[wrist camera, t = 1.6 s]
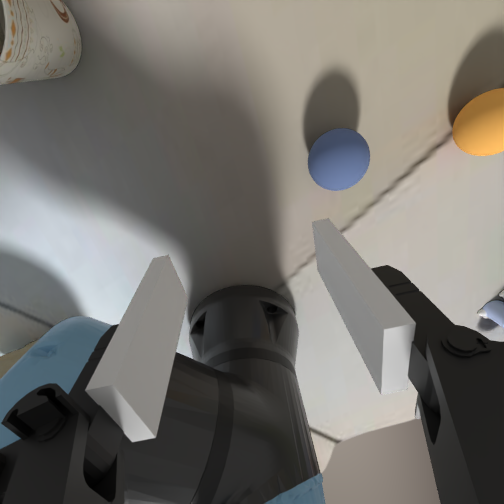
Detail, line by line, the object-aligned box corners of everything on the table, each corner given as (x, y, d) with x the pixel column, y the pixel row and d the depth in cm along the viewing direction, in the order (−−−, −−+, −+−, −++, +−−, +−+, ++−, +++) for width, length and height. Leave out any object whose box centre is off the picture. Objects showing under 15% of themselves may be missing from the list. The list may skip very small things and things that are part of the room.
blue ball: (305, 187, 28) (320, 204, 24) (298, 133, 26) (313, 140, 21) (355, 175, 28) (380, 190, 23) (354, 119, 25) (382, 123, 21)
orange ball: (435, 156, 28) (478, 167, 23) (443, 97, 25) (492, 96, 20) (489, 143, 27) (543, 152, 23) (502, 82, 25) (566, 77, 20)
